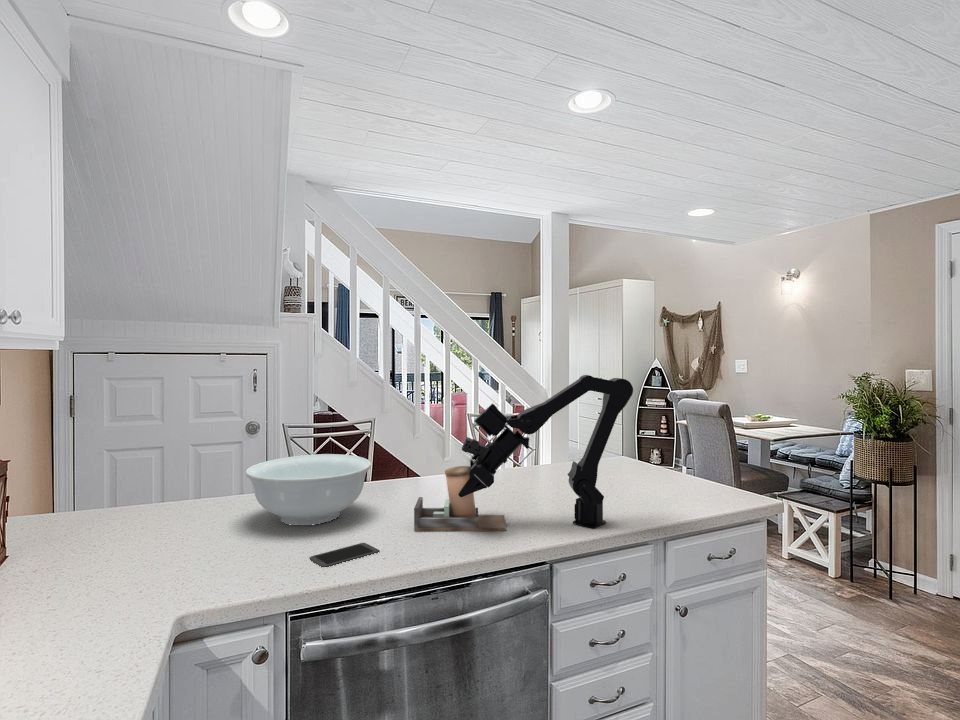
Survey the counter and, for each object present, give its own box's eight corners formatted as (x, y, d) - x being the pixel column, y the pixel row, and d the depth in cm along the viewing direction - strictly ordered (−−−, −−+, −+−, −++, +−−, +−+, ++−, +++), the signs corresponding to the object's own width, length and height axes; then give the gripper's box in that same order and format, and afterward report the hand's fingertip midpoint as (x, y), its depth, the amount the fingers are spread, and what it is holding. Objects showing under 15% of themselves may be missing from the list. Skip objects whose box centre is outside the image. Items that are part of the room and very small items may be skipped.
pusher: (450, 516, 145) (450, 499, 145) (448, 524, 138) (448, 506, 138) (434, 516, 145) (434, 499, 145) (432, 524, 138) (432, 506, 137)
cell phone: (381, 553, 122) (381, 550, 122) (323, 570, 112) (323, 566, 112) (364, 545, 127) (364, 541, 127) (307, 560, 118) (307, 557, 118)
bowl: (270, 547, 125) (269, 484, 125) (231, 515, 150) (230, 463, 150) (392, 520, 145) (392, 465, 145) (340, 496, 170) (339, 450, 170)
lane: (504, 517, 147) (503, 496, 147) (506, 531, 136) (505, 507, 136) (419, 518, 147) (418, 497, 147) (414, 531, 136) (414, 508, 136)
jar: (479, 513, 144) (472, 465, 144) (474, 521, 137) (467, 470, 137) (454, 515, 145) (448, 467, 145) (448, 523, 139) (442, 473, 138)
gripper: (479, 422, 150) (440, 462, 150) (479, 432, 132) (434, 477, 132) (508, 450, 150) (469, 490, 150) (512, 463, 132) (467, 509, 132)
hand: (460, 491), depth 141 cm, fingers open, 9 cm apart
